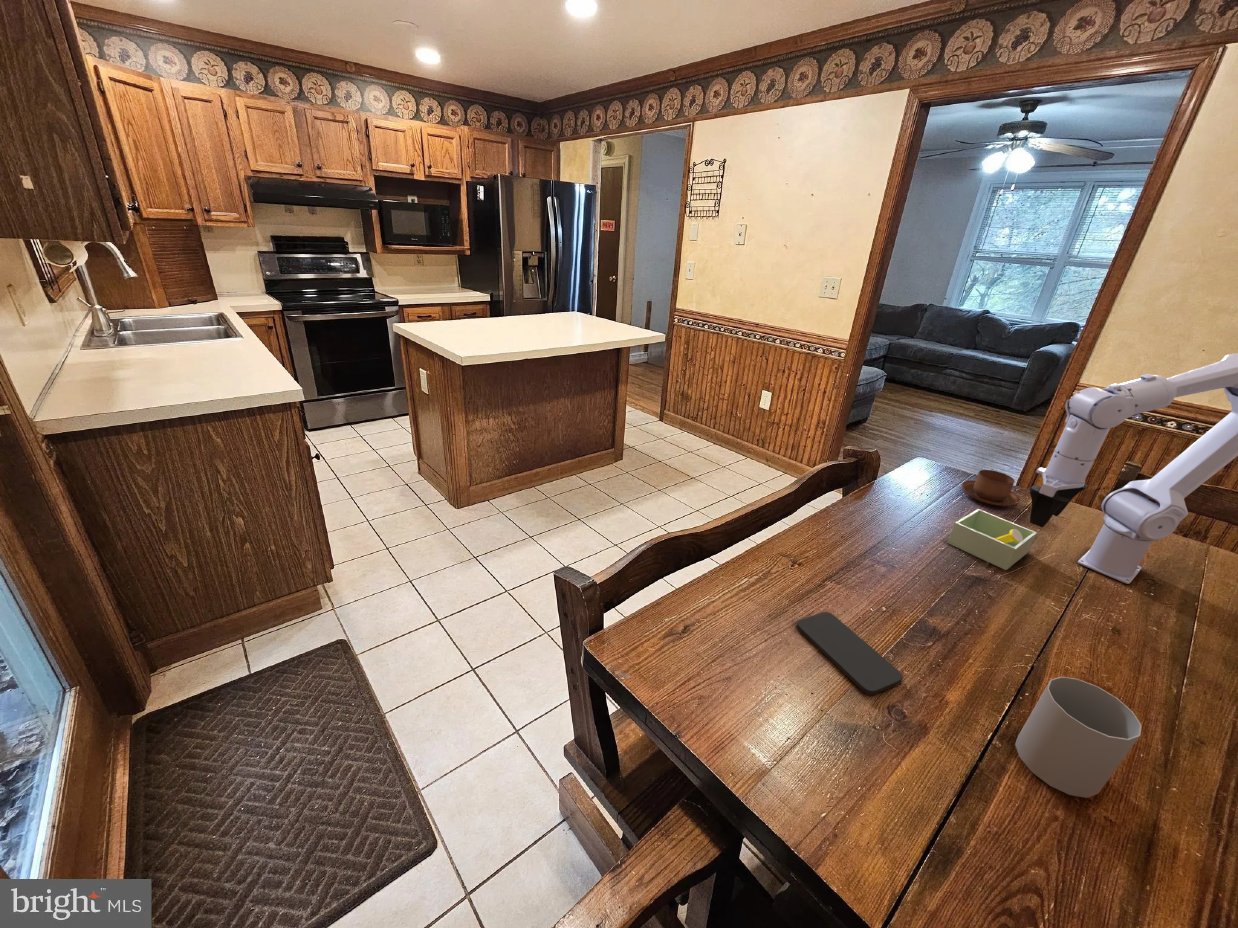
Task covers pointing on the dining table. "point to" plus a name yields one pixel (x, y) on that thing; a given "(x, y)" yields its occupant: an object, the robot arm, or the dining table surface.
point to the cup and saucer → (992, 488)
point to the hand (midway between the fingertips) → (1044, 519)
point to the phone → (850, 653)
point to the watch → (1011, 537)
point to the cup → (1077, 736)
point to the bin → (990, 538)
